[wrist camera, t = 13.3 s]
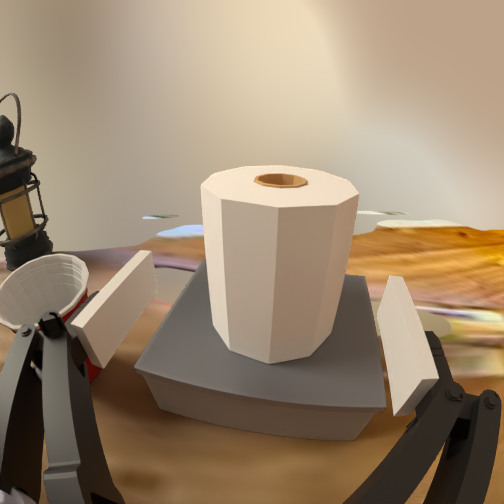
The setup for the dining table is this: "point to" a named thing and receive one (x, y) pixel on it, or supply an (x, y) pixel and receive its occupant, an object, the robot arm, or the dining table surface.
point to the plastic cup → (45, 293)
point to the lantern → (19, 199)
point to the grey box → (268, 372)
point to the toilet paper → (276, 257)
